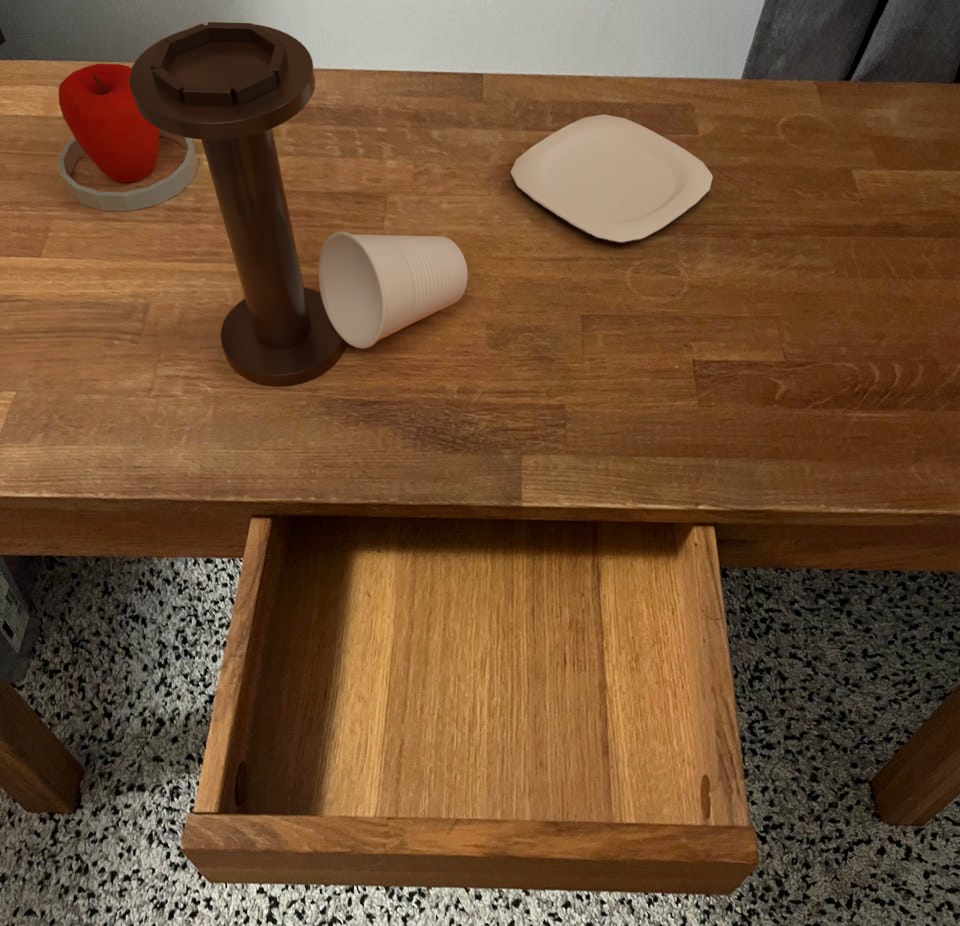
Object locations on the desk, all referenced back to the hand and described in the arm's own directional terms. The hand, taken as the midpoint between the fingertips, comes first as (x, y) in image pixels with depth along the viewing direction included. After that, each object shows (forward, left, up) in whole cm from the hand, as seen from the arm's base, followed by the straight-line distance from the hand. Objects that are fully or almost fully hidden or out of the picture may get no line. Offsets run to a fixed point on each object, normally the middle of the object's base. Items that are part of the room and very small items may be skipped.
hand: (43, 0), depth 73 cm
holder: (0, -28, -20) cm, 34 cm away
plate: (+39, -33, -20) cm, 55 cm away
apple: (+3, +3, -20) cm, 21 cm away
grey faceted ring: (+3, +3, -20) cm, 21 cm away
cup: (+15, -33, -17) cm, 41 cm away
